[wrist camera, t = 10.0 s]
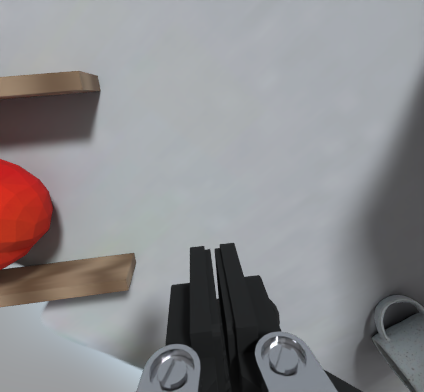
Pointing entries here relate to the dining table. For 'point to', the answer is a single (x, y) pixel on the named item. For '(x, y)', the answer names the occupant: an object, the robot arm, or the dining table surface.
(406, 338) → the ceramic mug
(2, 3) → the dining table surface
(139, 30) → the dining table surface
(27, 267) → the box
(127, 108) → the dining table surface
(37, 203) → the tomato
